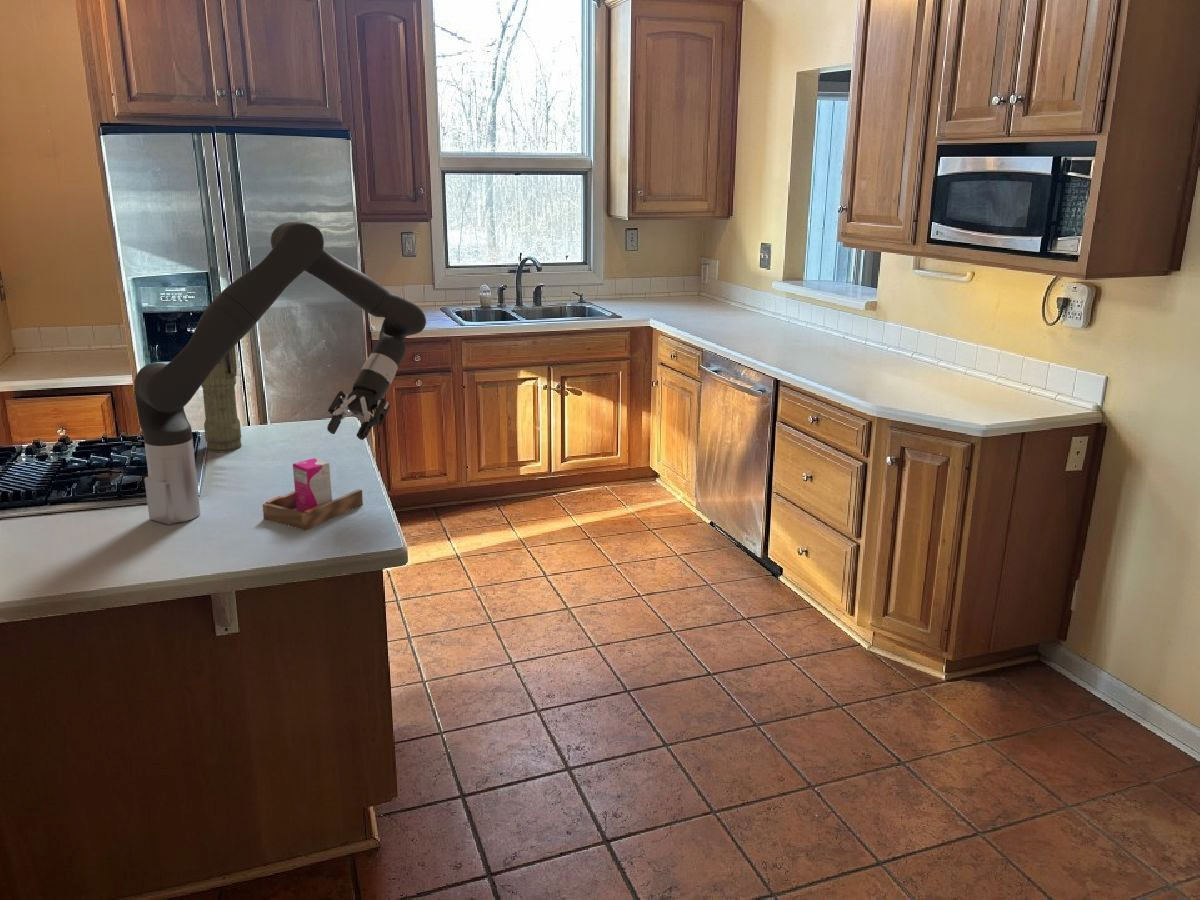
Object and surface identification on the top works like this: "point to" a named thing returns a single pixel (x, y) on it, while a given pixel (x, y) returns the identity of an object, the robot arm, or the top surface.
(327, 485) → the supplement box
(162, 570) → the top surface
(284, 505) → the channel
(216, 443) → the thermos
